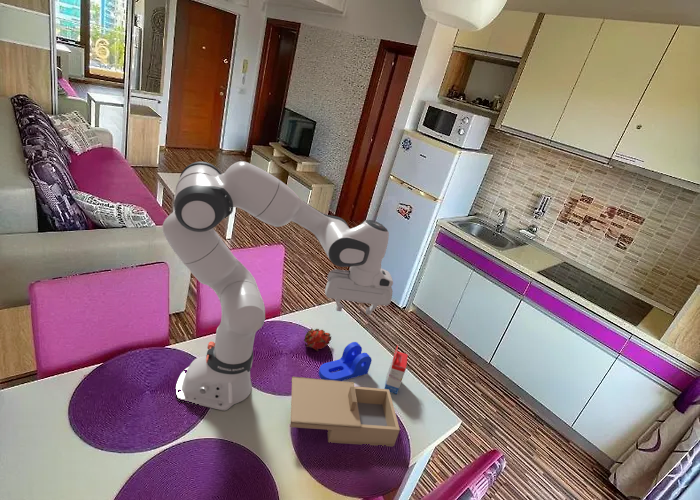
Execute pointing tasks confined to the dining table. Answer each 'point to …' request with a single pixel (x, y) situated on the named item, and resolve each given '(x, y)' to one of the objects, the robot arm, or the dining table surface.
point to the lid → (324, 405)
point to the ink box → (396, 371)
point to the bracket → (347, 364)
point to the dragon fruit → (317, 339)
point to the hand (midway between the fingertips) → (353, 312)
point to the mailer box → (371, 420)
